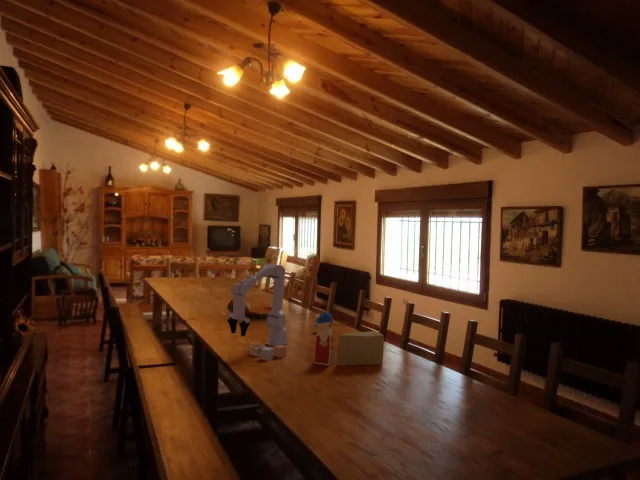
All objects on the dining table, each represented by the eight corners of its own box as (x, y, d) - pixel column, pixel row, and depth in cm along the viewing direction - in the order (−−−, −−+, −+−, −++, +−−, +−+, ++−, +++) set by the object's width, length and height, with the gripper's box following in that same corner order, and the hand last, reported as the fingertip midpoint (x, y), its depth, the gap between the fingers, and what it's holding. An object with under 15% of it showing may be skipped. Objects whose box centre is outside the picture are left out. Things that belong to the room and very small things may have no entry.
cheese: (341, 368, 225) (342, 337, 224) (333, 362, 234) (334, 332, 233) (383, 365, 233) (384, 334, 232) (374, 359, 242) (375, 329, 241)
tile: (269, 347, 256) (269, 346, 256) (278, 350, 251) (278, 349, 251) (259, 349, 250) (259, 348, 250) (268, 352, 246) (268, 351, 246)
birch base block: (257, 351, 248) (258, 344, 247) (265, 354, 244) (266, 346, 243) (248, 354, 243) (249, 346, 243) (256, 356, 239) (257, 348, 239)
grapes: (330, 329, 302) (330, 310, 301) (334, 332, 295) (335, 312, 295) (312, 330, 297) (313, 310, 297) (316, 332, 291) (317, 313, 291)
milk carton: (335, 360, 237) (336, 320, 236) (329, 366, 228) (331, 324, 227) (317, 358, 240) (319, 318, 239) (311, 363, 231) (312, 322, 230)
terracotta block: (280, 354, 244) (280, 344, 244) (286, 356, 241) (286, 346, 241) (273, 356, 241) (273, 346, 241) (279, 358, 238) (280, 348, 238)
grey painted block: (265, 357, 239) (265, 347, 239) (272, 358, 237) (273, 348, 237) (260, 359, 235) (260, 349, 235) (267, 360, 233) (268, 350, 233)
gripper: (223, 306, 242) (222, 333, 243) (242, 310, 232) (241, 338, 233) (234, 304, 247) (234, 330, 248) (253, 309, 237) (252, 336, 238)
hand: (238, 334), depth 241 cm, fingers open, 7 cm apart
